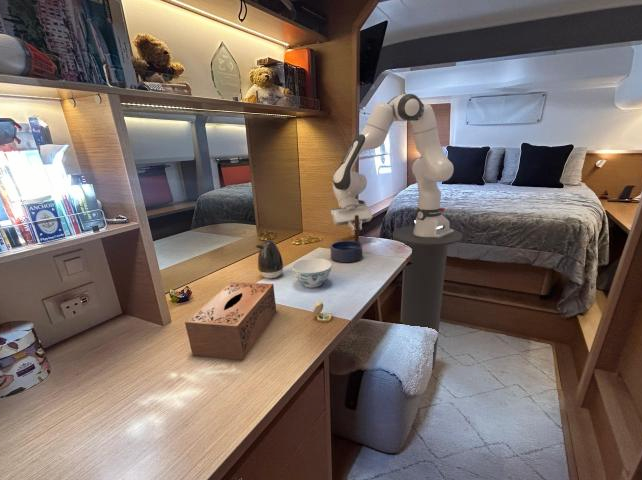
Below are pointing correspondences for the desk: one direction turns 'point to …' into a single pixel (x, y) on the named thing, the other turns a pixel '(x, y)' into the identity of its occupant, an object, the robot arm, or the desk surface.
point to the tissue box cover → (231, 320)
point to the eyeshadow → (323, 316)
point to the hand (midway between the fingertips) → (357, 229)
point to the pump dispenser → (269, 260)
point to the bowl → (346, 251)
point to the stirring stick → (357, 228)
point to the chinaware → (312, 271)
